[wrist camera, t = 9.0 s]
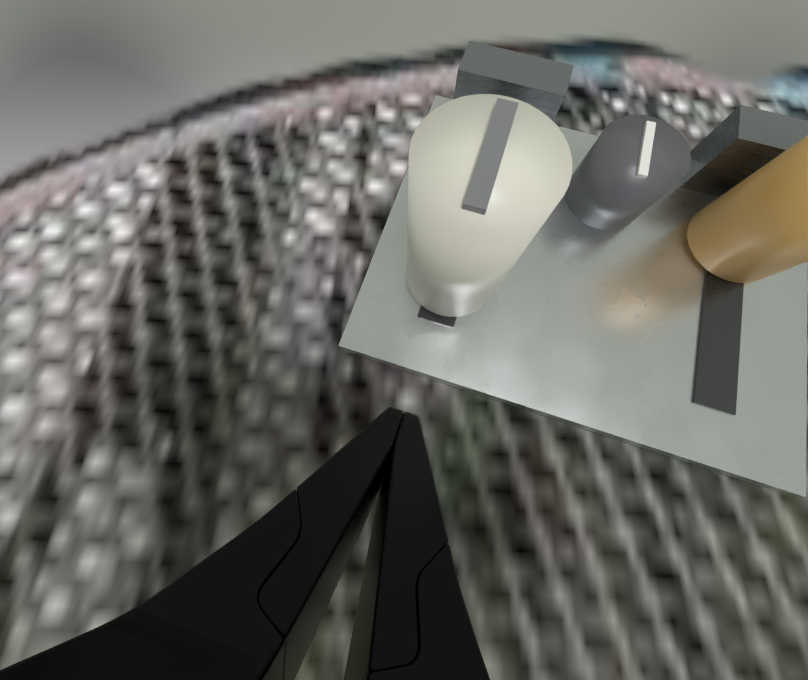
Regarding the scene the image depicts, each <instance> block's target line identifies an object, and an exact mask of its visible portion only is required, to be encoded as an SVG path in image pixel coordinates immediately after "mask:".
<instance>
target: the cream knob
mask: <svg viewBox="0 0 808 680" xmlns="http://www.w3.org/2000/svg"><path fill="white" fill-rule="evenodd" d="M571 176H572V156H571V151H570V148H569V145H568V143H567V141H566V139H565V137H564V135H563V133H562V132H561V130H560V129H559V128H558V126H557V125H556V124H555V123H554V122H553V121H552V120H551V119H550V118H549V117H548V116H547V115H545V114H544V113H543V112H541V111H540V110H538V109H537V108H535V107H533V106H531V105H530V104H528V103H525V102H523V101H521V100H518V99H515V98H511V97H507V96H502V95H495V94H475V95H468V96H463V97H459V98H456V99H453V100H450V101H448V102H446V103H444V104H442V105H440V106H439V107H437V108H436V109H434V110H433V111H432V112H430V113H429V114H428V115H427V116H426V117H425V118H424V119H423V120H422V121H421V123H420V124H419V126H418V127H417V129H416V131H415V133H414V135H413V137H412V140H411V143H410V149H409V173H408V224H407V283H408V286H409V289H410V291H411V293H412V295H413V296H414V298H415V299H416V300H417V301H418V303H420V304H421V305H422V306H423V307H424V308H426V309H427V310H429V311H431V312H433V313H435V314H438V315H442V316H447V317H459V316H465V315H468V314H471V313H473V312H475V311H477V310H479V309H480V308H481V307H483V306H484V305H485V304H486V303H487V302H488V300H489V299H490V298H491V296H492V295H493V293H494V292H495V291H496V289H497V288H498V286H499V285H500V284H501V282H502V281H503V279H504V278H505V277H506V275H507V274H508V273H509V271H510V270H511V268H512V267H513V266H514V264H515V263H516V261H517V260H518V259H519V257H520V256H521V254H522V253H523V252H524V250H525V249H526V248H527V246H528V245H529V243H530V242H531V241H532V239H533V238H534V236H535V235H536V234H537V232H538V231H539V229H540V228H541V227H542V225H543V224H544V223H545V221H546V220H547V218H548V217H549V216H550V214H551V213H552V211H553V210H554V209H555V207H556V206H557V205H558V203H559V202H560V200H561V199H562V198H563V196H564V195H565V193H566V191H567V189H568V187H569V184H570V180H571Z"/></svg>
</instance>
